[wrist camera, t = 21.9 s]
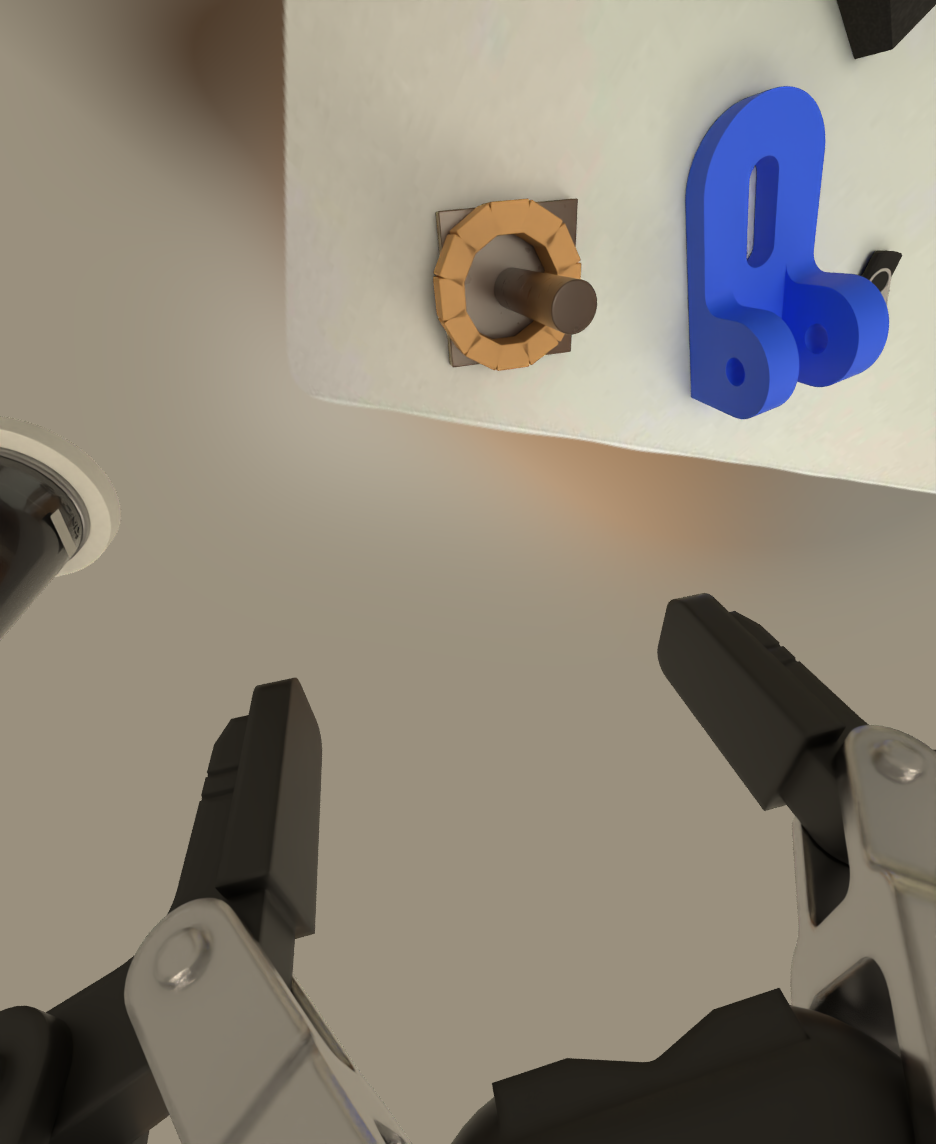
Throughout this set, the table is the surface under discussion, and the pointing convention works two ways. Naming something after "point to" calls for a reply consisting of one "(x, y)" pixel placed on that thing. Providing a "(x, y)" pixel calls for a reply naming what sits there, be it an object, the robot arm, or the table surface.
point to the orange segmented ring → (456, 262)
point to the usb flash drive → (882, 270)
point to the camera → (880, 22)
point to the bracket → (769, 264)
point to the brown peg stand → (520, 286)
